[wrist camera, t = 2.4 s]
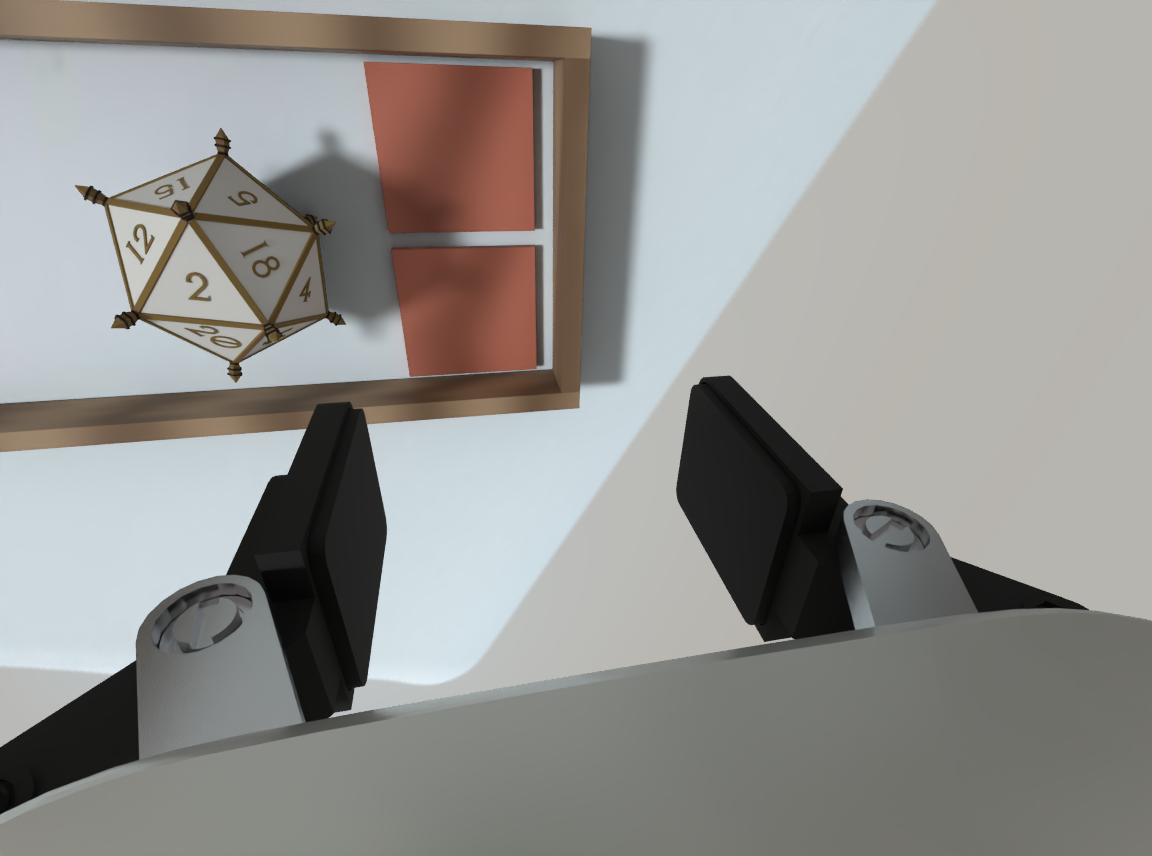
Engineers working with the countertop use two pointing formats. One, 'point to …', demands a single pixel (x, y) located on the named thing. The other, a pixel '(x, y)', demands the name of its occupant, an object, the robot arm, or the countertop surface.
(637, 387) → the countertop surface
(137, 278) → the game die
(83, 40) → the rectangular wooden frame
